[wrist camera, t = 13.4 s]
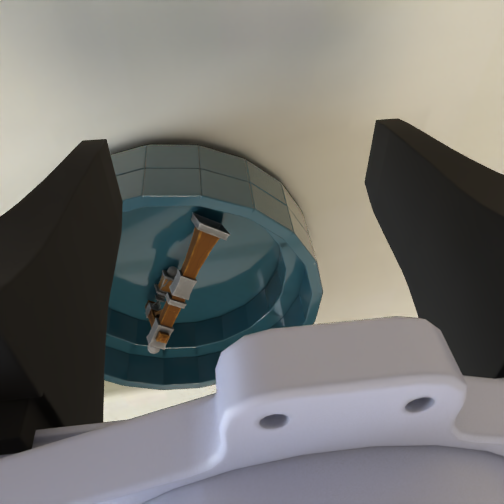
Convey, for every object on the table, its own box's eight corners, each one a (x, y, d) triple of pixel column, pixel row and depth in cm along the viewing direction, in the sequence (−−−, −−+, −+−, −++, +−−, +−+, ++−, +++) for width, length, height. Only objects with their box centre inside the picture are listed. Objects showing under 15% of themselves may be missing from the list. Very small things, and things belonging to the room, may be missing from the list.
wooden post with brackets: (130, 316, 29) (137, 357, 25) (183, 199, 27) (200, 223, 23) (157, 323, 30) (168, 365, 26) (211, 210, 28) (231, 236, 24)
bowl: (27, 311, 30) (8, 374, 27) (58, 97, 21) (35, 152, 17) (248, 345, 35) (255, 400, 32) (352, 185, 26) (377, 240, 23)
